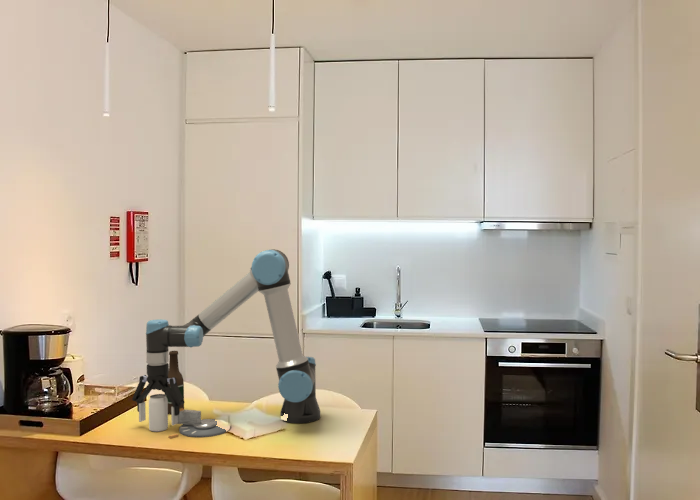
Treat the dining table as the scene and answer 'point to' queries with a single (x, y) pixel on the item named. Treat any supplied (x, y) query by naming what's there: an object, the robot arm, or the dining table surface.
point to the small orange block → (173, 436)
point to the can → (158, 413)
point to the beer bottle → (175, 373)
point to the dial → (194, 419)
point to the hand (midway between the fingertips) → (158, 422)
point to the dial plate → (200, 431)
